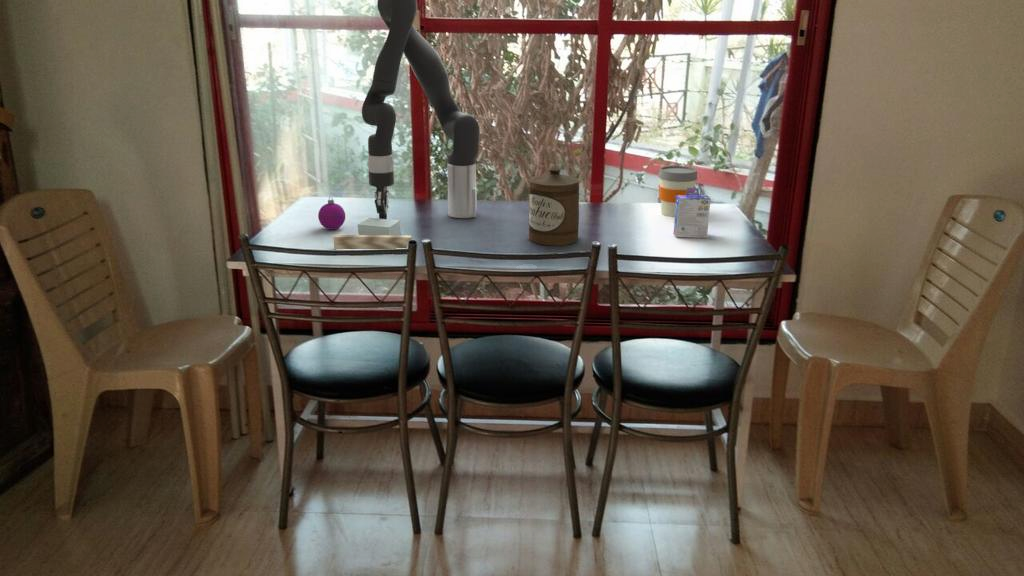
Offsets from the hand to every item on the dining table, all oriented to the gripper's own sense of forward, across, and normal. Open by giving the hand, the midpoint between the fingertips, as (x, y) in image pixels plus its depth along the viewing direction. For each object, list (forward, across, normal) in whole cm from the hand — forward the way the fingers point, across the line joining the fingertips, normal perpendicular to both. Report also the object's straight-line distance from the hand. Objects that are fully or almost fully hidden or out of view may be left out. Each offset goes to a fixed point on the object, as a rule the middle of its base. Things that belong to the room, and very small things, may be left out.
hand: (383, 224), depth 257 cm
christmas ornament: (+2, 0, +16) cm, 16 cm away
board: (+2, -21, 0) cm, 21 cm away
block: (+2, -9, 0) cm, 9 cm away
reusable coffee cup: (+2, +24, -94) cm, 97 cm away
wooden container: (+2, -7, -52) cm, 53 cm away
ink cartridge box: (+2, -2, -94) cm, 94 cm away
